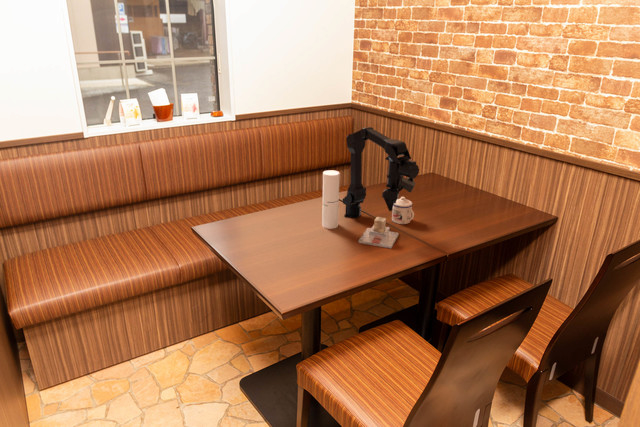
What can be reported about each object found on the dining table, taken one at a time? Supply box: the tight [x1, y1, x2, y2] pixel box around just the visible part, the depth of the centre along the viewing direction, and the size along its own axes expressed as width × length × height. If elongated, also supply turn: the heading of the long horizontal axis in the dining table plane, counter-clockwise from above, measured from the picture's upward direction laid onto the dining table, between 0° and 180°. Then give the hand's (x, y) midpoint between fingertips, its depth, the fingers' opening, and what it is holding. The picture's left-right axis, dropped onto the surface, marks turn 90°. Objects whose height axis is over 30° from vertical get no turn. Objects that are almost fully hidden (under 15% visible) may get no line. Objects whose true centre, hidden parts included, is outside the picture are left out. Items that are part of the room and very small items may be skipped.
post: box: [373, 216, 387, 232], centre depth 196 cm, size 4×4×8 cm
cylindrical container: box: [321, 169, 341, 230], centre depth 205 cm, size 7×7×25 cm
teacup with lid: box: [391, 196, 415, 225], centre depth 213 cm, size 12×9×12 cm
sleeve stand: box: [358, 224, 399, 249], centre depth 197 cm, size 14×14×4 cm
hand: (392, 207), depth 197 cm, fingers open, 9 cm apart
